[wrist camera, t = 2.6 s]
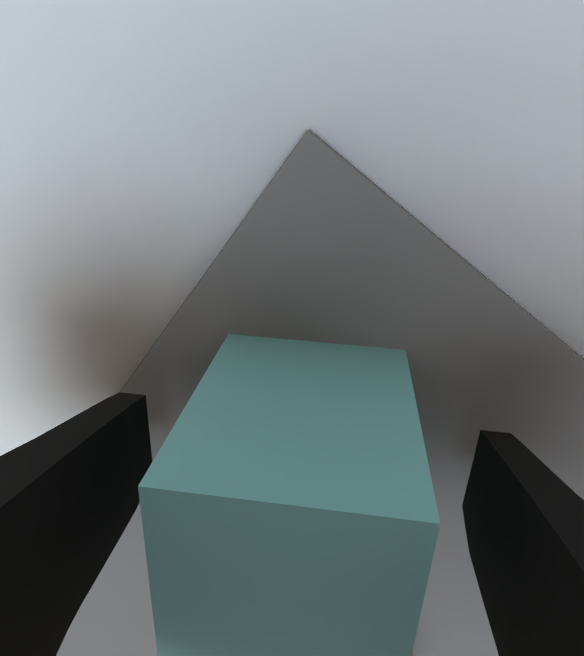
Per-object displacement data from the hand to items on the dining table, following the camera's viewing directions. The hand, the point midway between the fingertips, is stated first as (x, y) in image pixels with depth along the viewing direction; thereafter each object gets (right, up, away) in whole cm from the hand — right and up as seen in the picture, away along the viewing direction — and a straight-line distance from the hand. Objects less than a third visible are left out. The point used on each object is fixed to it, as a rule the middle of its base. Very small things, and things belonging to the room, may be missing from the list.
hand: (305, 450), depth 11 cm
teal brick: (0, +1, +1) cm, 1 cm away
